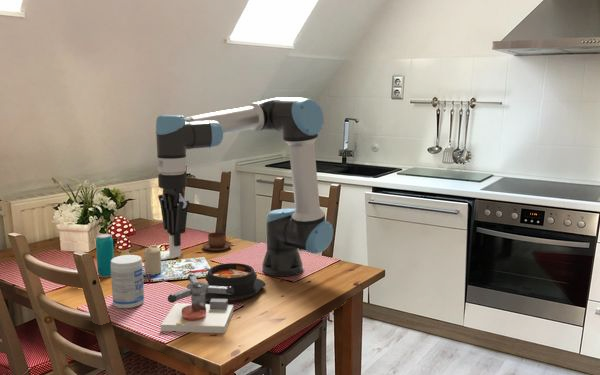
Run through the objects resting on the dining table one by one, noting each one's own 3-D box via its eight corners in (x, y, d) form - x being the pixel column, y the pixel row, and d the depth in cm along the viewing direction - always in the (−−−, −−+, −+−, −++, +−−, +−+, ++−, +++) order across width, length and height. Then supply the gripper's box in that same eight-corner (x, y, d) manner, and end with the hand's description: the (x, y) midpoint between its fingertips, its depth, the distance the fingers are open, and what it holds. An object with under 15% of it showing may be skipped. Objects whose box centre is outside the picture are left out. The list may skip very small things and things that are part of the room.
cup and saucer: (207, 243, 235) (207, 230, 233) (234, 245, 233) (234, 231, 232) (199, 252, 223) (198, 237, 222) (227, 253, 221) (226, 239, 220)
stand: (233, 310, 165) (233, 297, 164) (224, 333, 150) (224, 318, 149) (175, 309, 166) (175, 295, 165) (160, 331, 151) (160, 316, 150)
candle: (150, 276, 194) (148, 249, 192) (143, 272, 198) (141, 246, 196) (164, 273, 197) (162, 247, 195) (157, 269, 201) (155, 243, 200)
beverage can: (110, 271, 198) (108, 232, 196) (117, 275, 194) (115, 235, 192) (95, 275, 194) (92, 235, 192) (102, 279, 190) (99, 238, 188)
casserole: (242, 277, 194) (241, 255, 192) (278, 291, 181) (278, 267, 180) (183, 296, 176) (182, 272, 174) (219, 313, 163) (218, 287, 162)
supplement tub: (143, 308, 167) (141, 263, 164) (111, 310, 164) (108, 265, 162) (145, 296, 176) (143, 253, 173) (114, 298, 174) (112, 255, 171)
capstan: (192, 299, 168) (191, 272, 166) (236, 315, 157) (235, 286, 155) (148, 316, 155) (147, 287, 153) (192, 335, 144) (191, 304, 142)
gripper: (148, 171, 147) (151, 253, 152) (171, 177, 138) (175, 265, 142) (172, 168, 152) (175, 248, 157) (197, 174, 143) (199, 259, 147)
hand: (175, 256), depth 150 cm, fingers closed
